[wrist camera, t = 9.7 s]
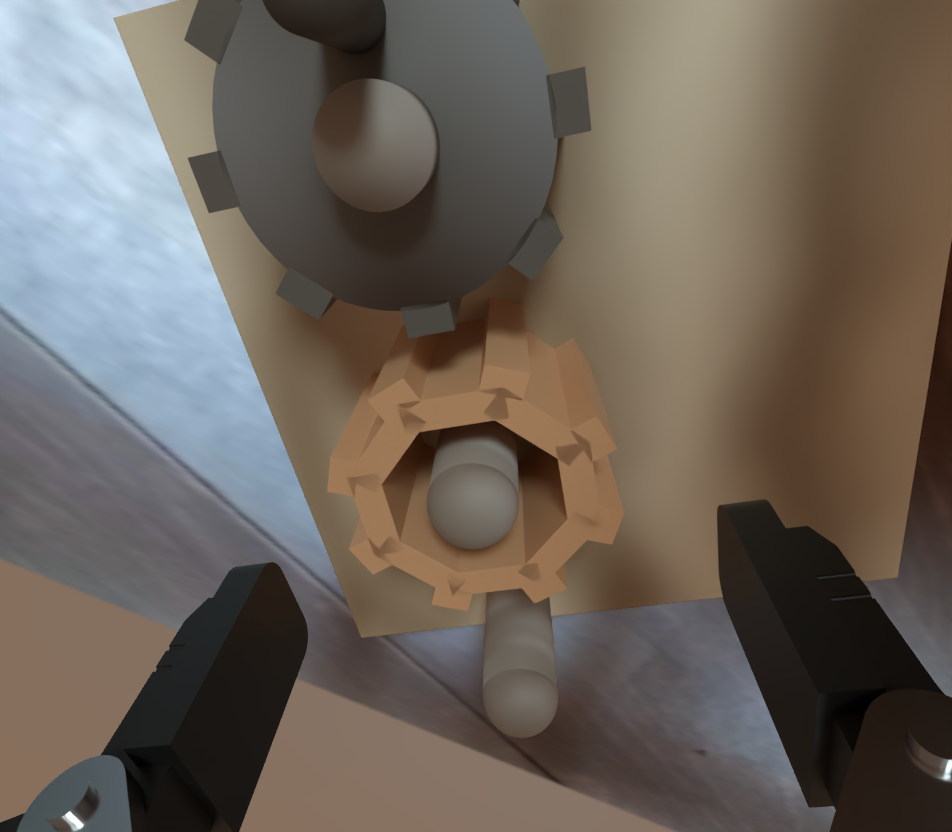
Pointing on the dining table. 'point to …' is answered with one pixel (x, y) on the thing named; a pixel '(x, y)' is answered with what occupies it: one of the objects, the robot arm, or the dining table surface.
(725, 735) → the dining table surface
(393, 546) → the loose gear
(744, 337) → the gear board
